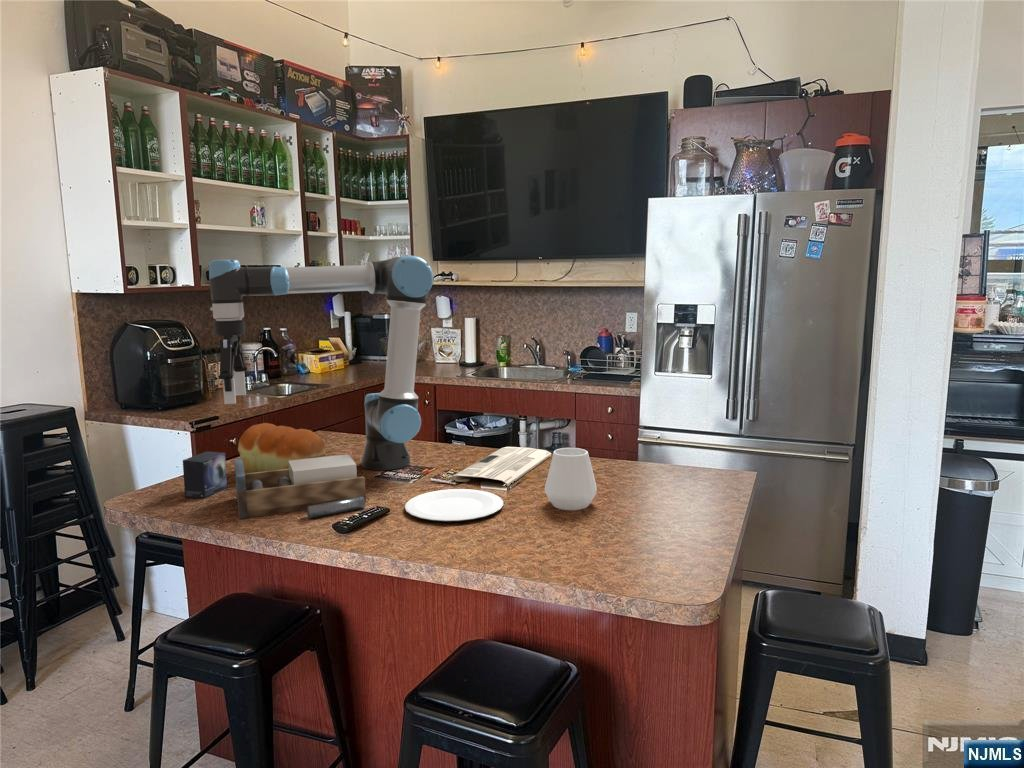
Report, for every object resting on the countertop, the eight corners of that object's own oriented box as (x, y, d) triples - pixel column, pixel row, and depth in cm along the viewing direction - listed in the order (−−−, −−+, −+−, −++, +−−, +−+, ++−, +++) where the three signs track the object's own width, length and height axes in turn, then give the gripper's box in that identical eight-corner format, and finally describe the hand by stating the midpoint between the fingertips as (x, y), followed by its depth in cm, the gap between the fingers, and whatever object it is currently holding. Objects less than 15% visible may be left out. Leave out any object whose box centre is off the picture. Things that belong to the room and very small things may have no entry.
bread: (327, 477, 205) (325, 428, 203) (293, 487, 195) (290, 436, 193) (274, 465, 219) (271, 419, 217) (239, 474, 209) (236, 427, 207)
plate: (386, 520, 168) (385, 513, 168) (432, 490, 191) (432, 484, 191) (480, 531, 159) (480, 524, 159) (517, 499, 183) (517, 493, 182)
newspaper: (501, 453, 233) (501, 445, 232) (556, 458, 225) (556, 450, 225) (451, 482, 199) (451, 473, 199) (513, 489, 192) (513, 480, 191)
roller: (361, 506, 178) (360, 494, 177) (365, 509, 175) (364, 497, 175) (306, 516, 170) (306, 504, 170) (310, 520, 167) (309, 508, 167)
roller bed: (353, 483, 198) (351, 447, 196) (365, 501, 181) (364, 462, 180) (237, 497, 186) (234, 460, 184) (239, 518, 169) (236, 477, 168)
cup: (601, 499, 181) (602, 447, 179) (590, 515, 169) (590, 459, 167) (552, 494, 185) (552, 443, 183) (538, 510, 173) (537, 456, 171)
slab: (348, 469, 194) (348, 454, 193) (357, 480, 183) (356, 464, 182) (289, 476, 187) (288, 460, 187) (294, 488, 176) (293, 471, 176)
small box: (205, 499, 185) (202, 461, 184) (183, 498, 186) (180, 460, 185) (228, 487, 195) (226, 451, 194) (208, 486, 197) (205, 450, 195)
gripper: (224, 317, 192) (230, 392, 195) (201, 322, 168) (209, 408, 171) (252, 316, 194) (258, 391, 197) (234, 321, 169) (241, 406, 173)
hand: (235, 399), depth 184 cm, fingers open, 13 cm apart
